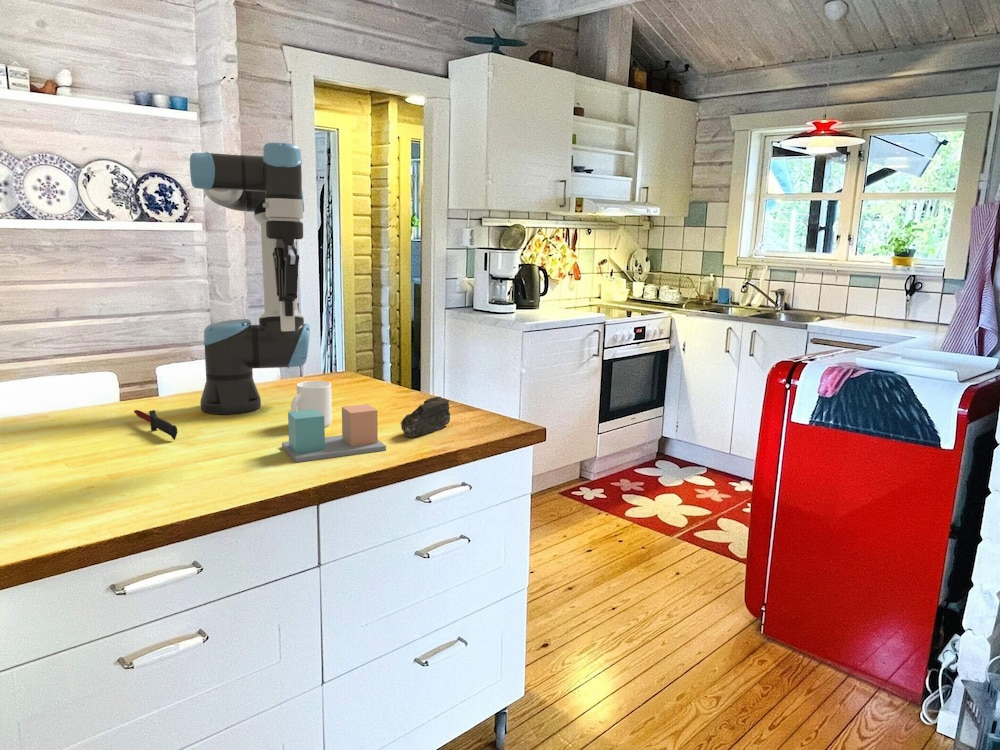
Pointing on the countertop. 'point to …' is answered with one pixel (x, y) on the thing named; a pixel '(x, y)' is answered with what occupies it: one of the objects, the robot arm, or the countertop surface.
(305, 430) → the teal upright block
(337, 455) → the grey base with blocks
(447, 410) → the stone
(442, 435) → the countertop surface
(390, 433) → the countertop surface
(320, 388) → the mug
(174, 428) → the knife
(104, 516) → the countertop surface
